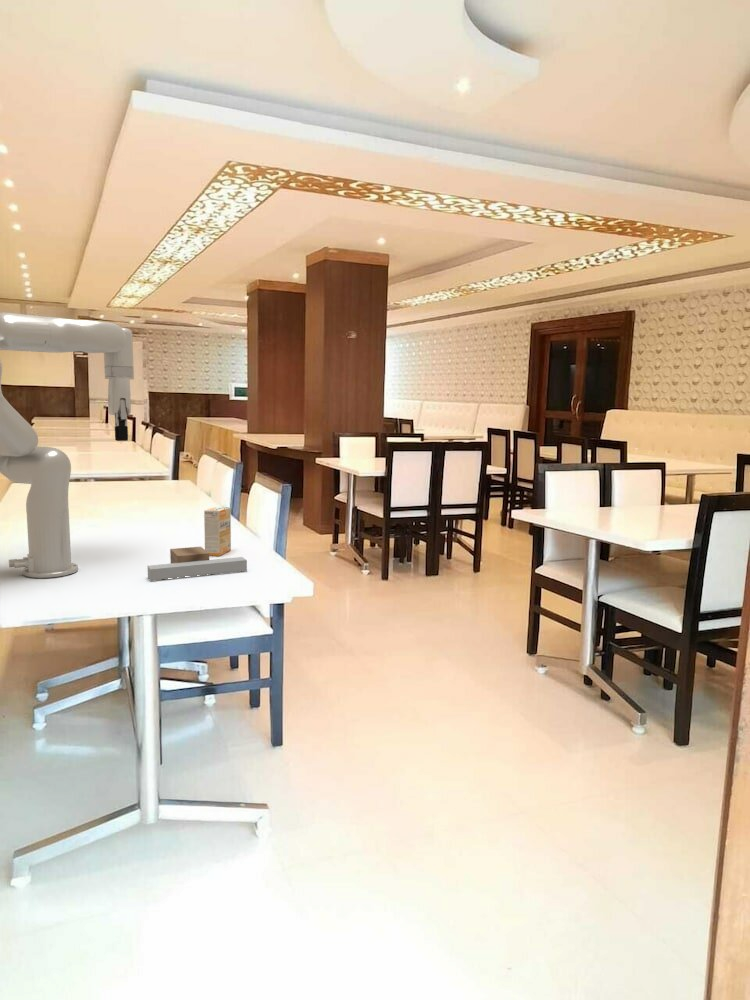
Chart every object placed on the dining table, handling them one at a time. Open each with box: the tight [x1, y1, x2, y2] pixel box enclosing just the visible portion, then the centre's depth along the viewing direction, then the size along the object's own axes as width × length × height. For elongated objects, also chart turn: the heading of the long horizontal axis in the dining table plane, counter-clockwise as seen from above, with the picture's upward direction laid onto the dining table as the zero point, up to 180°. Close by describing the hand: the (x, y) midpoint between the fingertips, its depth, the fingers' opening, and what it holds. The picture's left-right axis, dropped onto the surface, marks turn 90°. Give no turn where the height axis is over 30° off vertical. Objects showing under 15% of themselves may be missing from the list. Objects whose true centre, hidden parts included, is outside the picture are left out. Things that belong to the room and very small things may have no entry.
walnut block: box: [169, 546, 210, 564], centre depth 179 cm, size 8×9×5 cm
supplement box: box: [203, 506, 232, 557], centre depth 197 cm, size 8×5×13 cm, turn 168°
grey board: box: [147, 556, 248, 582], centre depth 173 cm, size 24×4×3 cm, turn 118°
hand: (121, 440), depth 191 cm, fingers closed
